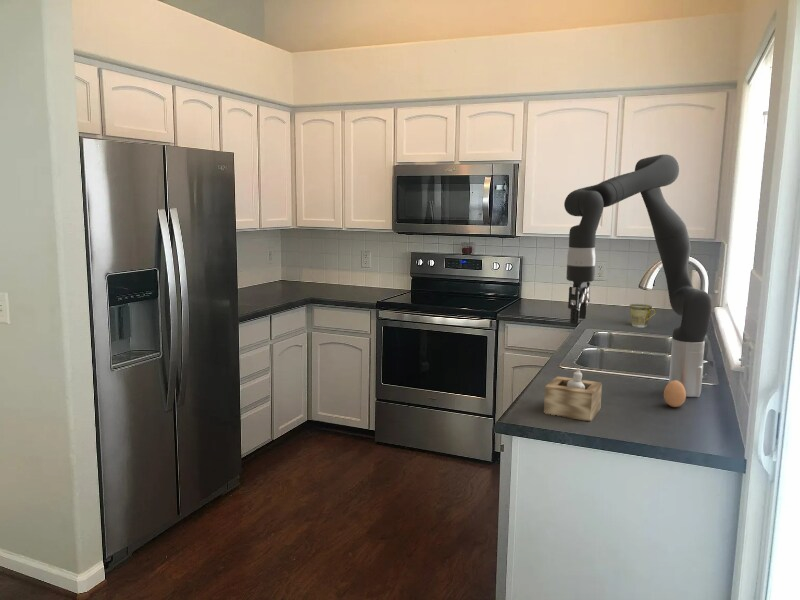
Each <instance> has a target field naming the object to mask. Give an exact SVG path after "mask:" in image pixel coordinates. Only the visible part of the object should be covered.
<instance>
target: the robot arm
mask: <svg viewBox="0 0 800 600" xmlns="http://www.w3.org/2000/svg"><path fill="white" fill-rule="evenodd" d="M679 173H680V165H679V162H678V160H677V159H676V158H675V157H674V156H673V155H671V154H659V155H654V156H649V157H648V156H647V157H644V158H642V159H639V160H637V162H636V164H635V167H634V171H630V172H627V173H624V174H621V175H617V176H614V177H611V178H608V179H607V180H603V181H601V182H599V183H596V184H594V185H590V186H585V187H581V188H578V189H574V190H572V191H571V192H569V194H568V195H567V196H566V197H565V200H564V206H563V207H564V210H565V211H566V213H567V214H569V215H570V216H573V217H581V219H580V222H579V224H577V225H573V226H572V227H570V228H569V233H568V250H567V255H566V257H567V258H566V259H567V260H566V277H565V278H566V280H567V281H568V282H573V283H572V286H569V288H568V303H567V304H568V305H567V308H568V309H569V310H570V316H569V317H570V319H569V323H570V324H574V325H578V324H579V323H580V320H585V319H587V314H588V313H587V309H588V305H589V303H590V302H591V301H590V299H591V297H590V295H591V282H594V281H595V274H596V237H597V236H596V233H597V230H598V227H599V225H600V222H601V221H600V220H601V217H602V214H603V212H604V208H607V207H611V206H613V205H615V204H618V203H619V202H622V201H625V200H626V199H629V198H630V197H633V196H635V195H637V194H640V195H641V197H642V200H643V203H644V205H645V208H646V211H647V214H648V217H649V221H650V223H651V224H650V225H651V228H652V231H653V235H654V240H655V243H656V247H657V250H658V253H659V257H660V261H661V264H662V268H663V271H664V275H665V280H666V284H667V293H668V297H669V298H668V299H669V303H670V307H671V309H672V311H673V312H674V313H675V314H677V315H678V316H681V323H680V326H679V327H676V328H674V329H673V330H672V339H671V352H670V363H669V364H670V365H669V377H668V383H669V382H671V381H674V380H676V381H679V382H680V383H682V385H683V386H684V388H685V391H686V398H700V396H701V394H702V393H701V392H702V384H703V375H704V374H703V372H704V355H705V354H704V353H705V345H706V344H705V342H706V336H707V334H708V333H709V328H710V322H711V316H712V308H713V307H712V299H711V296H710V294H708V292H706V291H705V290H702V289H698V288H695V287H694V286H693V283H692V280H691V277H690V274H689V273H690V272H689V261H690V258H691V257H690V255H691V245H692V244H691V240H690V236H689V231H688V229H687V225H686V223H685V222H684V221H683V219H682V217H680V216H679V214H678V213H677V212H676V211H675V210H674V209H673V208H672V207H671V206H670V205H669V204H668V202H667V201H666V199H665V197H664V194H663V192H662V189H661V188H662V187H667V186H670V185H672V184H673V183H674V182H675V181H676V180H677V179H678V177H679Z"/></svg>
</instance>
